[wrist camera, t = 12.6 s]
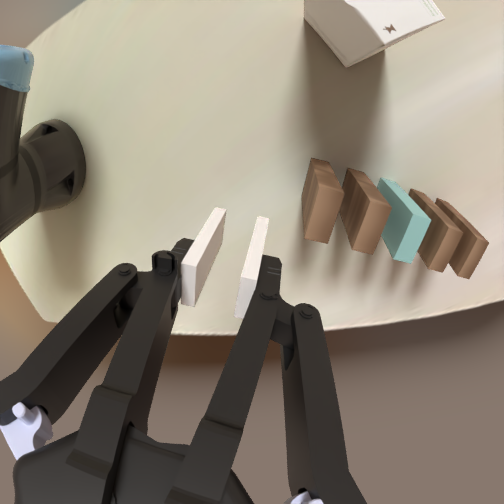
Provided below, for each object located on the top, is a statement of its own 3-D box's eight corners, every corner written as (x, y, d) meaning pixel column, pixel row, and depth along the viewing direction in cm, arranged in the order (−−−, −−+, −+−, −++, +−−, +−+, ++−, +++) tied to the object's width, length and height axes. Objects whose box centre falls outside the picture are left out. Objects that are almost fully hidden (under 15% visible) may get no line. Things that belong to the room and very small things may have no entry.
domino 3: (397, 221, 33) (428, 268, 24) (410, 188, 31) (449, 227, 21) (410, 225, 33) (442, 272, 24) (423, 193, 31) (463, 233, 21)
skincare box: (386, 48, 22) (452, 24, 9) (342, 70, 25) (386, 52, 12) (342, -6, 19) (375, -66, 6) (297, 16, 22) (300, -42, 9)
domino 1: (301, 195, 34) (304, 238, 25) (311, 157, 31) (319, 187, 22) (318, 199, 34) (327, 243, 24) (328, 162, 31) (344, 193, 22)
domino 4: (423, 229, 33) (457, 275, 24) (437, 197, 30) (477, 238, 21) (435, 232, 33) (469, 279, 24) (448, 202, 30) (489, 242, 21)
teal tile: (368, 212, 33) (393, 259, 24) (380, 177, 31) (413, 214, 22) (383, 216, 33) (410, 263, 24) (395, 182, 31) (431, 220, 21)
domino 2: (336, 204, 34) (351, 249, 24) (347, 167, 31) (370, 201, 22) (352, 208, 34) (372, 254, 24) (364, 172, 31) (392, 207, 22)
